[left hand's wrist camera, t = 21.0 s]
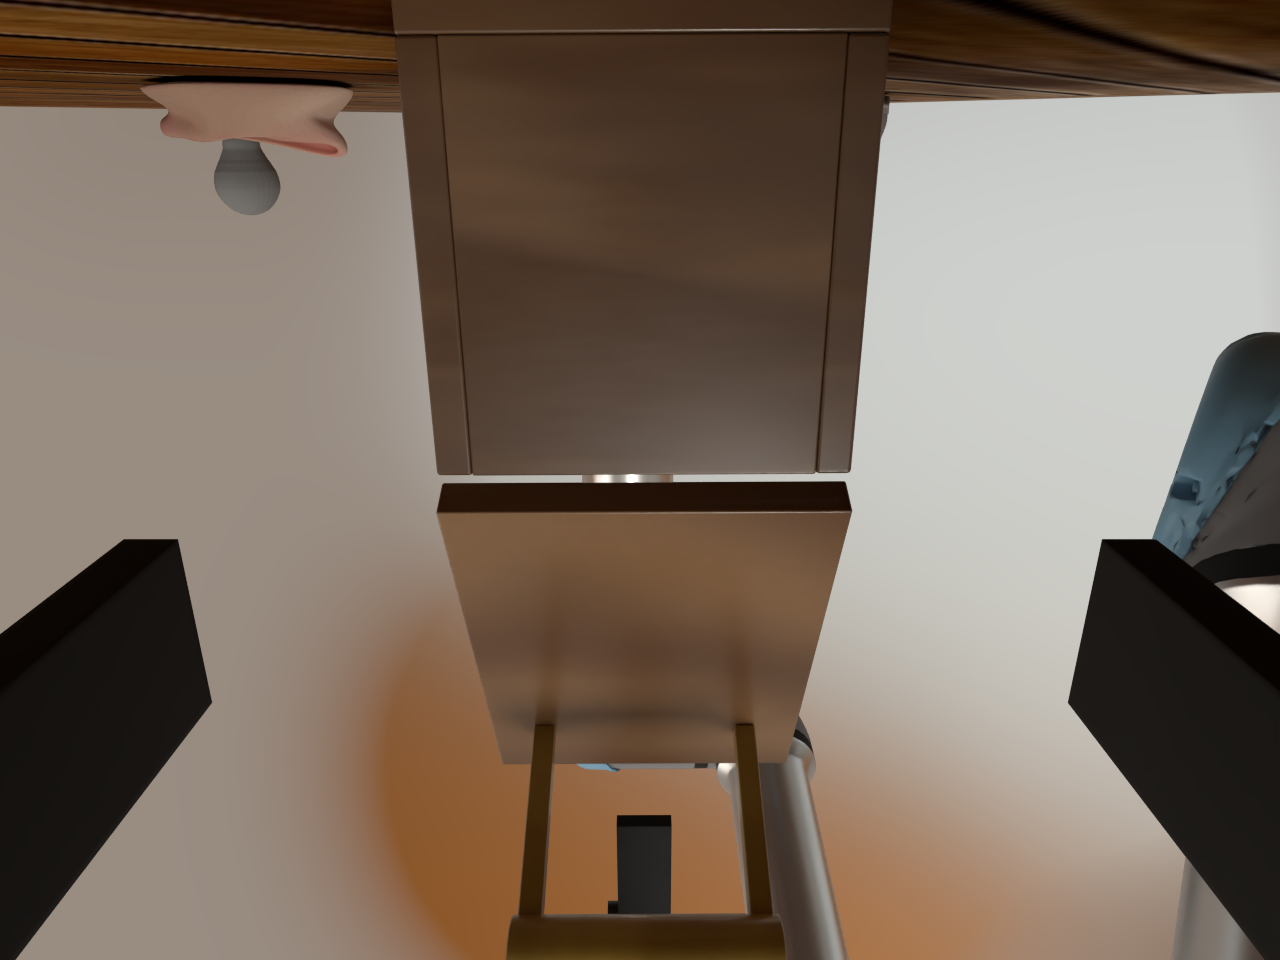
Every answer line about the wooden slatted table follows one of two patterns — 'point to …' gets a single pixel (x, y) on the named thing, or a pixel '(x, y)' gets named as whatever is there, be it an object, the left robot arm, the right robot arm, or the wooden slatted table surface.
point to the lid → (644, 661)
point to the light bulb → (246, 177)
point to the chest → (642, 229)
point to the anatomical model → (254, 113)
